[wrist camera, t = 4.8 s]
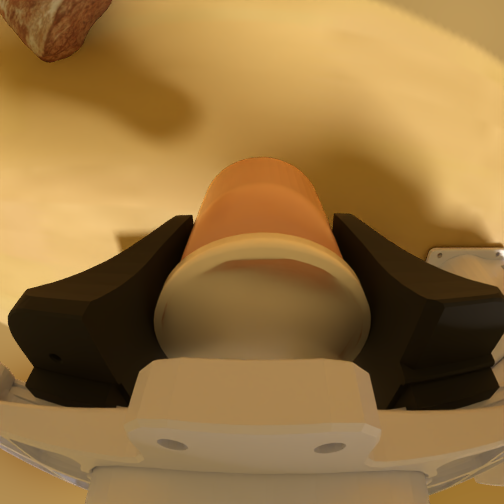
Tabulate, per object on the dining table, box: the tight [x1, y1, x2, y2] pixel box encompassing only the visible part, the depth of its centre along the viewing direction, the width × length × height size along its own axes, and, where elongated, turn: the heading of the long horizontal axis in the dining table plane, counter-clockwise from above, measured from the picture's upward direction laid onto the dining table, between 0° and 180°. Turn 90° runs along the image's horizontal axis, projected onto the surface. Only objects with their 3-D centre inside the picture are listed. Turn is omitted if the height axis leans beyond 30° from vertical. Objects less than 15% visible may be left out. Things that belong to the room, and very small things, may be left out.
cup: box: [154, 157, 371, 362], centre depth 10 cm, size 5×5×7 cm
